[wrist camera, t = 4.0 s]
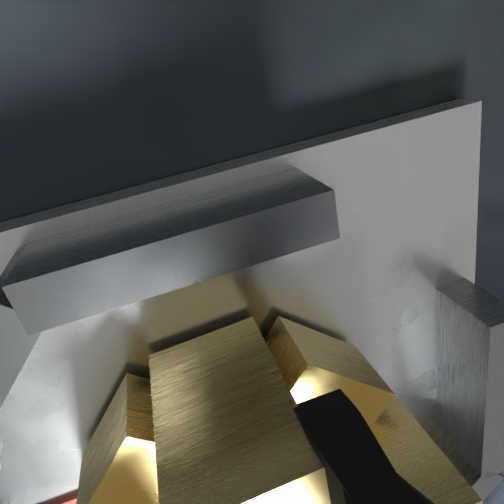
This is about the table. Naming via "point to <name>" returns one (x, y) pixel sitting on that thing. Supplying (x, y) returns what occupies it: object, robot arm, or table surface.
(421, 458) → the gold block ring
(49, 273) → the flange plate
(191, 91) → the table surface
